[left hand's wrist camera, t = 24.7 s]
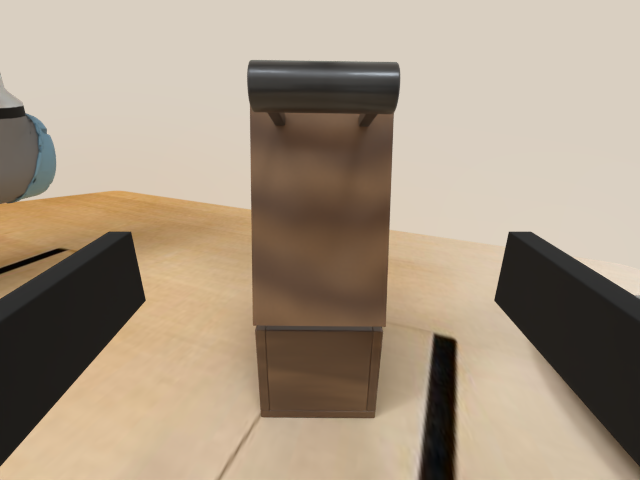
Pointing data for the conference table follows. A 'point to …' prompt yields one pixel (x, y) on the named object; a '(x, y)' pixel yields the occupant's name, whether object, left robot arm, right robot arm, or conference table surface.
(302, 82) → the lid
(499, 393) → the conference table surface
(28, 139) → the right robot arm
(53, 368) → the left robot arm
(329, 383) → the chest
